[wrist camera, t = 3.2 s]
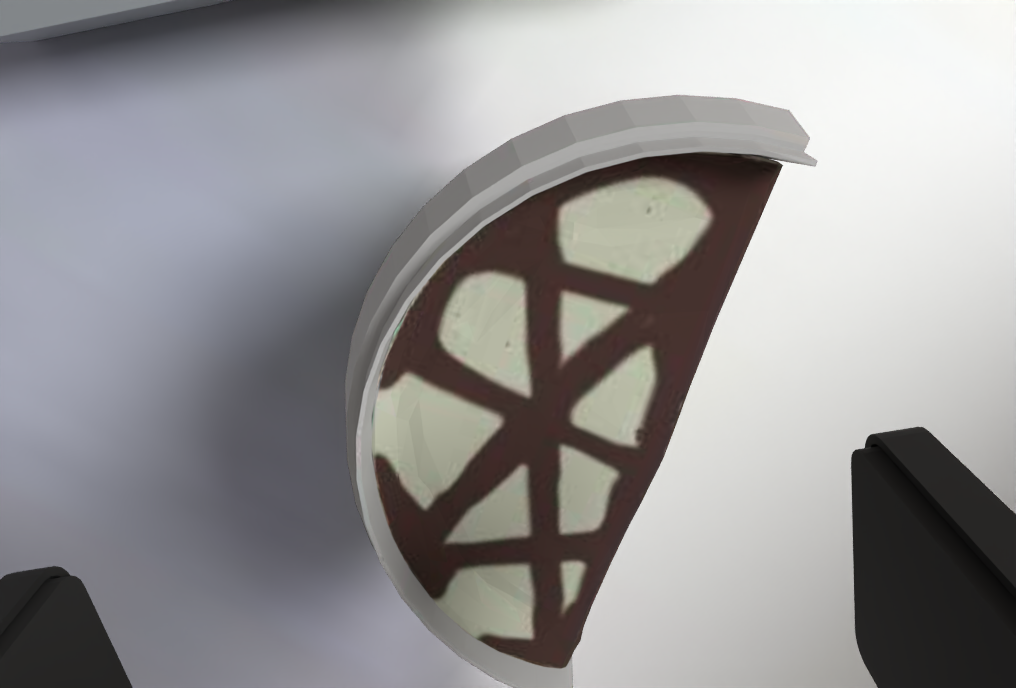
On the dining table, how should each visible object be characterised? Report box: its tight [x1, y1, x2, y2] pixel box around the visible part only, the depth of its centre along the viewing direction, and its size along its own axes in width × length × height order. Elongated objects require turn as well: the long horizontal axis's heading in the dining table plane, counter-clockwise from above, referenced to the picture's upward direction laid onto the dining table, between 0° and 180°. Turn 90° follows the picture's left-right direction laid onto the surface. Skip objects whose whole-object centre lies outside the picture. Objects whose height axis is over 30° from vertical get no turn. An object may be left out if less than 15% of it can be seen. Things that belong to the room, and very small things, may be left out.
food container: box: [345, 95, 817, 688], centre depth 18 cm, size 12×6×10 cm, turn 163°
